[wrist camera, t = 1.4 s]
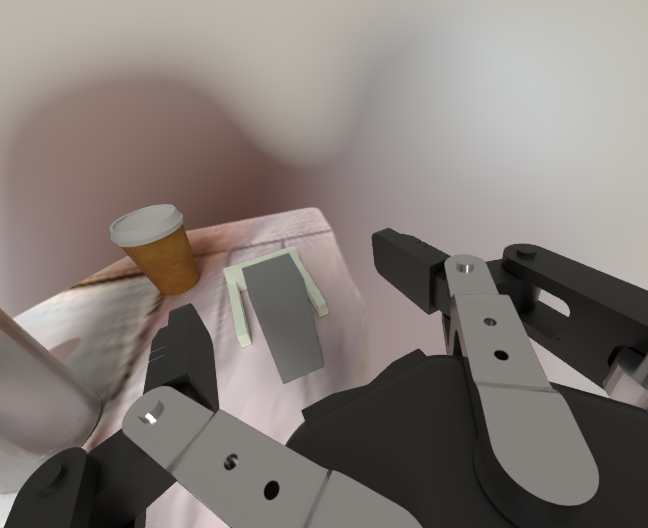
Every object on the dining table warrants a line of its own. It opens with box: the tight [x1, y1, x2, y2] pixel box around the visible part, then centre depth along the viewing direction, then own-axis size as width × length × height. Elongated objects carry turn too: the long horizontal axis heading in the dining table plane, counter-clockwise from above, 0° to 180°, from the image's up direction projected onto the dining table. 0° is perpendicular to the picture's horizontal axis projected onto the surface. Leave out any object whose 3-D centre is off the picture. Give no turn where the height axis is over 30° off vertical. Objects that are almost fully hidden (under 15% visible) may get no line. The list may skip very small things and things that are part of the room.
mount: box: [223, 246, 328, 348], centre depth 38 cm, size 12×11×4 cm
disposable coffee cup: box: [110, 204, 200, 295], centre depth 42 cm, size 10×10×12 cm
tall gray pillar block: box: [242, 253, 324, 384], centre depth 27 cm, size 5×4×12 cm
